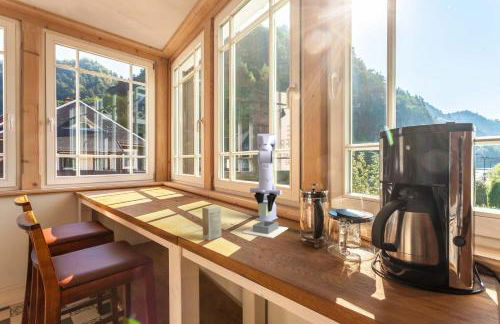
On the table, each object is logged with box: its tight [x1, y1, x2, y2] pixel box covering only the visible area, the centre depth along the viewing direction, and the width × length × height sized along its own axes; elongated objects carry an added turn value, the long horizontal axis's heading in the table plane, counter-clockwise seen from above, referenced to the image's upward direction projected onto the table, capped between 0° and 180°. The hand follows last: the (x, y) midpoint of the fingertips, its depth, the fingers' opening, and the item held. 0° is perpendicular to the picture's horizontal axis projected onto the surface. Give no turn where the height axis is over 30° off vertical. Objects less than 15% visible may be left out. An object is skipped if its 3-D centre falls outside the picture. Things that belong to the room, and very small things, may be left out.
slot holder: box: [241, 220, 289, 239], centre depth 108 cm, size 16×14×3 cm
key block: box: [257, 202, 272, 216], centre depth 108 cm, size 4×6×5 cm, turn 148°
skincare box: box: [201, 204, 222, 241], centre depth 99 cm, size 6×4×12 cm
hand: (265, 210), depth 108 cm, fingers closed on key block, 4 cm apart
